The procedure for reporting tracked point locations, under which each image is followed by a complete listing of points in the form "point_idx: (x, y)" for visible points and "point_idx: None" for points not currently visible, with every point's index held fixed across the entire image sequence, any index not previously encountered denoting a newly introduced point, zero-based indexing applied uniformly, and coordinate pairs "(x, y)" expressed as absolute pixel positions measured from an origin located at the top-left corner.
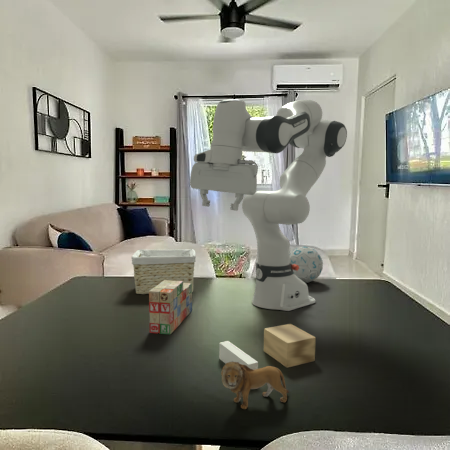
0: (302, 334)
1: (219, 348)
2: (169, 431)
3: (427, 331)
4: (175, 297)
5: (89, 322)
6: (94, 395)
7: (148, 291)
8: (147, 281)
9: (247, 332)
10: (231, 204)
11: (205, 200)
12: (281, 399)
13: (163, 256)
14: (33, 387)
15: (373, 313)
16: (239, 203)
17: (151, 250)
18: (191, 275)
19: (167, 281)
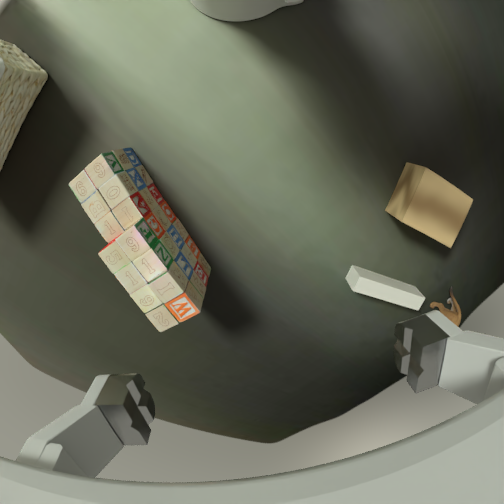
0: (457, 201)
1: (350, 286)
2: (383, 388)
3: (499, 4)
4: (181, 270)
5: (83, 318)
6: (289, 405)
7: (3, 161)
8: None
9: (316, 159)
10: (417, 385)
11: (133, 441)
12: (449, 303)
13: None
14: (231, 424)
15: None
16: (473, 334)
17: None
18: (23, 76)
19: (113, 257)
